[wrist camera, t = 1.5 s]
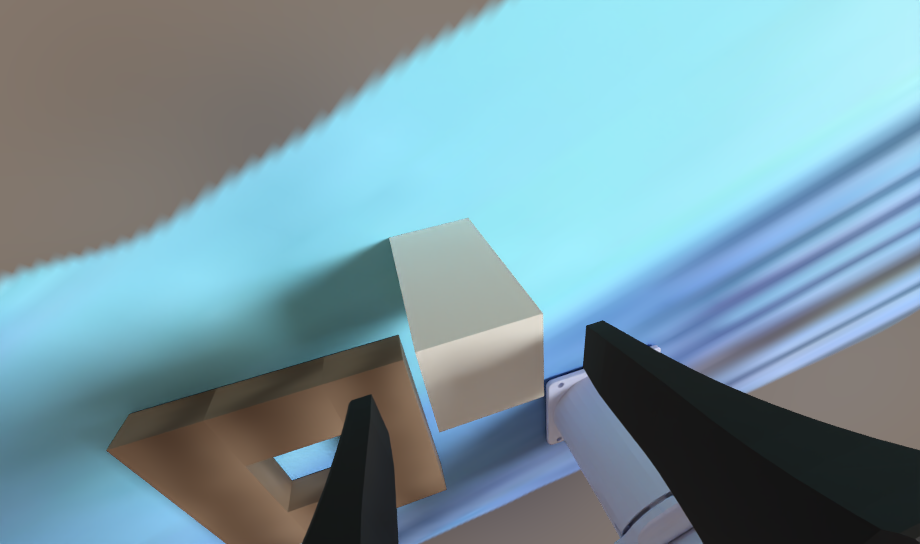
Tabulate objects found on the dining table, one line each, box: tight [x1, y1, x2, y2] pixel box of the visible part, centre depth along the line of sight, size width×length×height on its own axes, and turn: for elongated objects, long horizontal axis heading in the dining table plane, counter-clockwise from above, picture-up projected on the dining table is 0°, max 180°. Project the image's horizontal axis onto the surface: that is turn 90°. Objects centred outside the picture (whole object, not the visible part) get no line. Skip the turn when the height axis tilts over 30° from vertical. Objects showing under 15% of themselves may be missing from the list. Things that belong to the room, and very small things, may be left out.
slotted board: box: [106, 335, 447, 544], centre depth 21 cm, size 14×14×2 cm
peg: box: [389, 218, 544, 432], centre depth 15 cm, size 4×4×8 cm
